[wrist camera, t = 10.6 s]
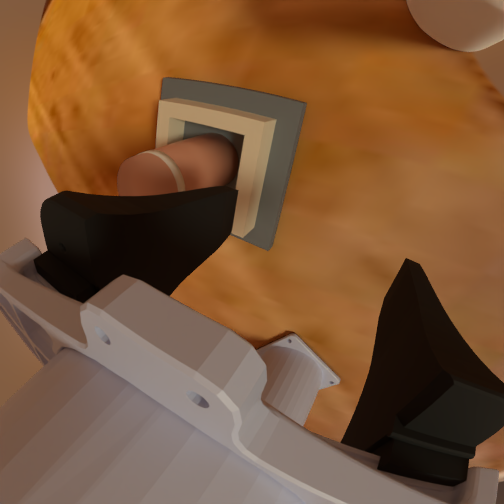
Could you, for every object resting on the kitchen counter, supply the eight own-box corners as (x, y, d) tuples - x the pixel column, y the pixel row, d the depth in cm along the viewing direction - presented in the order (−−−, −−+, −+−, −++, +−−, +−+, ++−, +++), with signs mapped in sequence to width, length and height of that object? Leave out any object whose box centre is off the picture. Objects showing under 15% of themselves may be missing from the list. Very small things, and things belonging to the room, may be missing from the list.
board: (272, 246, 26) (258, 263, 24) (160, 200, 29) (141, 211, 27) (306, 102, 19) (293, 104, 17) (169, 77, 22) (146, 79, 20)
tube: (218, 197, 25) (151, 240, 19) (182, 160, 25) (109, 191, 18) (250, 160, 22) (181, 194, 16) (209, 120, 22) (131, 140, 16)
